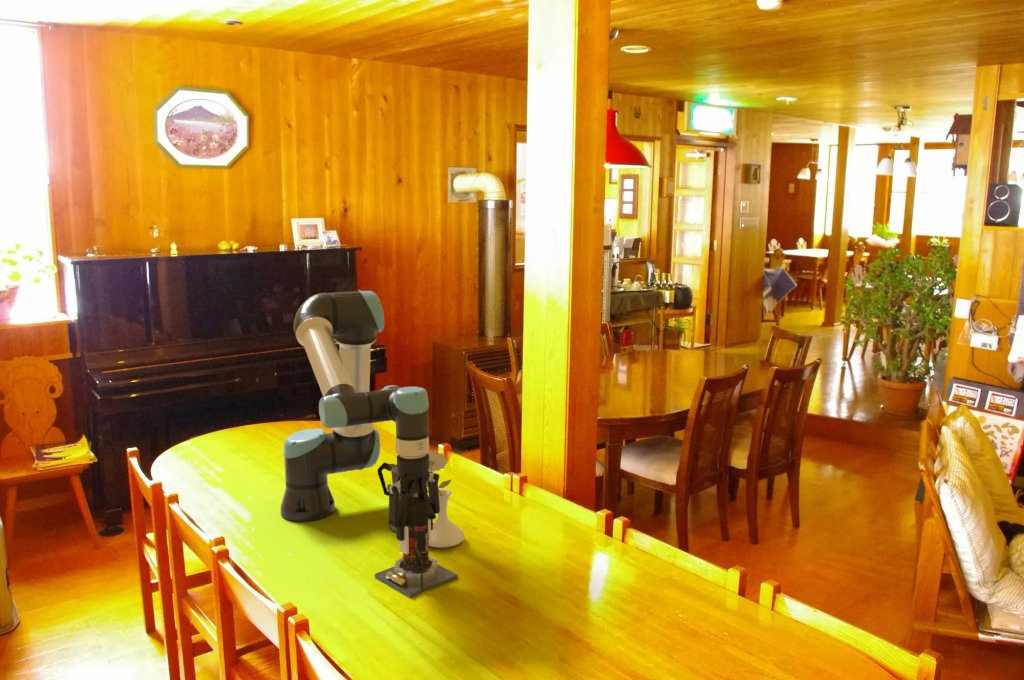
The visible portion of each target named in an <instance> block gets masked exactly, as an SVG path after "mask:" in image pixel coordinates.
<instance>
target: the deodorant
mask: <svg viewBox="0 0 1024 680" xmlns="http://www.w3.org/2000/svg"><path fill="white" fill-rule="evenodd" d="M405 526H407V527H408V534H409V554H405V553H403V552H402V554H403V555H402V556H403V557H402V558H403V562H404V564H405V565H406V566H410V567H420V566H423V565H426V564H427V563H428V561H429V557H430V556H429V546H428V512H427V500H423V499H421V498H419V497H413V498H412V499H411V502H410V505H408V516H407V520H406V525H405Z"/></svg>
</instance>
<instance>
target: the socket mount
mask: <svg viewBox="0 0 1024 680" xmlns="http://www.w3.org/2000/svg"><path fill="white" fill-rule="evenodd" d="M458 577H459V575H458V574H457V573H456V572H454V571H452V570H450V569H448V568H446V567H443V566H442V565H440V564H439V563H438V560H437V559H435V558H433V557H431V556H429V561H428V563H427V564H426V565H423V566H420V567H410V566H406V565H405V564H404V562H403V557H401V558H399V559H397V560H396V561H395V562H394V566H391V567H389V568H386V569H384V570H381V571H379V572H376V573H374V578H375V579H376V580H378V581H380V582H382V583H383V584H385V585H387V586H388V587H391V589H394V590H395V591H398V592H399V593H401V594H403V595H404V596H406V597H407V598H409V599H411V598H413V597H416V596H418V595H421V594H423V593H425V592H428V591H431V590H433V589H435V588H437V587H440V586H443V585H445V584H447V583H449V582H452V581H454V580H457V579H458Z"/></svg>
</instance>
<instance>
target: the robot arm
mask: <svg viewBox="0 0 1024 680" xmlns="http://www.w3.org/2000/svg"><path fill="white" fill-rule="evenodd" d="M383 309H384V308H383V306H382V303H381V300H380V298H379V296H378V295H377V293H375V292H374V291H372V290H360V289H358V290H354V291H353V290H351V291H349V290H348V291H340V292H339V291H336V292H322V293H317V294H316V293H315V294H313V295H312V296H310V297H309V298H307V299H306V300H305V301H304V302H303V303H302V304H301V305H300V306H299V308H298V310H297V311H296V313H295V317H294V320H293V331H294V335H295V338H296V340H297V342H298V344H300V345H301V346H303V348H304V350H305V352H306V354H307V358H308V360H309V363H310V365H311V368H312V371H313V374H314V377H315V378H316V381H317V383H318V384H317V385H319V388H320V392H321V394H322V397H321V398H320V400H319V402H318V414H319V417H320V423H321V425H322V426H323V427H324V428H327V429H332V432H329V433H327V432H326V431H325V430H324V429H323V428H308V429H303V430H299V431H296V432H293V433H291V434H290V435H289V436H287V437H286V439H285V440H284V443H283V459H284V473H285V474H284V475H285V479H284V480H285V488H284V490H285V491H284V493H283V497H282V501H281V504H280V515H281V517H282V518H283V519H285V520H288V521H293V522H310V521H317V520H320V519H324V518H326V517H329V516H331V515H332V514H333V513H334V512H335V511H336V504H335V503H336V502H335V499H334V496H333V494H332V492H331V489H330V485H329V484H328V483H329V482H328V476H329V475H333V474H339V473H345V472H353V471H361V470H364V469H369V468H372V467H374V466H375V465H376V464H377V462H378V461H379V458H380V453H381V452H380V451H381V442H380V440H381V439H380V438H381V437H380V433H379V430H378V429H377V428H375V427H374V424H375V423H381V422H384V423H385V422H392V421H393V422H395V439H396V440H395V441H396V443H395V447H396V449H395V450H396V454H397V456H396V464H397V470H398V473H399V476H398V479H397V482H396V483H394V484H393V483H392V484H391V483H389V484H387V486H386V488H387V491H388V492H389V496H388V525H389V526H390V527H391V526H393V527H395V528H396V530H397V532H396V539H397V540H398V542H399V543H398V544H399V552H401V553H402V554H403V553H405V554H409V534H408V527H407V526H405V525H406V520H407V516H408V505H410V502H411V499H412V498H413V494H415V493H417V494H418V497H419V498H421V499H423V500H427V512H428V547H432V546H431V530H433V523H434V520H435V519H437V516H436V515H438V513H439V512H440V506H439V492H438V489H439V488H438V487H439V480H440V474H438V473H437V472H433V471H432V472H431V471H430V473H429V471H428V470H429V468H430V464H429V454H428V452H429V451H430V438H429V437H430V436H429V435H430V434H429V433H430V432H429V430H430V429H429V426H430V425H429V424H430V423H429V407H430V403H429V397H428V391H427V390H426V388H424V387H420V386H403V387H401V386H399V385H395V384H393V385H392V384H391V385H387V386H384V387H382V388H381V389H380V390H371V391H370V383H371V382H370V381H371V380H370V379H371V378H370V377H371V349H372V347H371V346H372V345H373V344H374V343H375V342H376V341H377V334H378V333H381V332H383V331H384V329H385V315H384V310H383ZM336 343H337V344H336ZM337 345H338V346H339V348H338V346H337ZM338 349H339V350H338ZM427 481H428V487H427V486H426V483H427ZM400 487H401V491H400V490H399V488H400ZM399 492H400V496H401V498H400V496H399ZM406 493H407V494H406ZM399 501H400V502H399Z"/></svg>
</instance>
